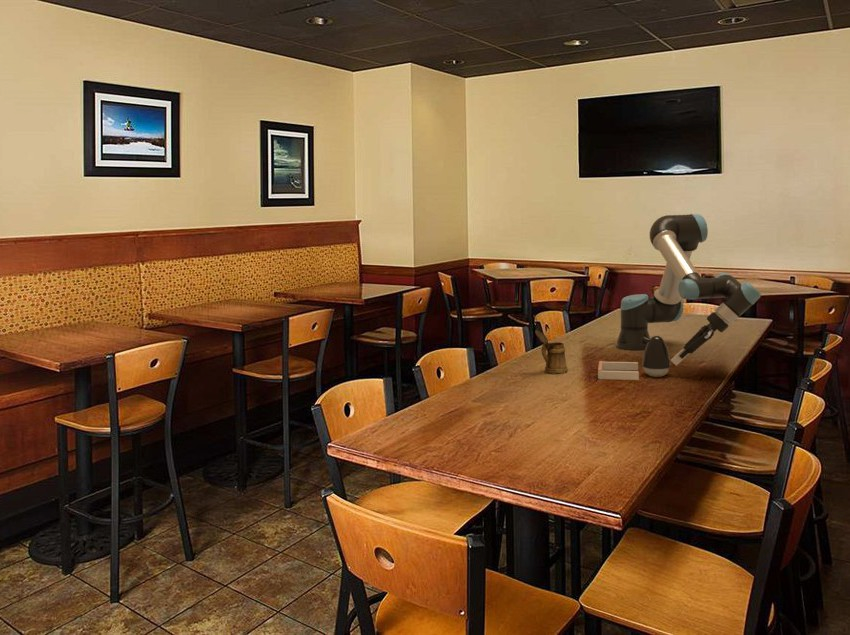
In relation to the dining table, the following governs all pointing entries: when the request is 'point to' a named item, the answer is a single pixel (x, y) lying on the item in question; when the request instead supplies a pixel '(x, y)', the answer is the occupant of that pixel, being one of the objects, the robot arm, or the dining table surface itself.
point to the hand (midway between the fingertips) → (673, 362)
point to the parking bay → (618, 374)
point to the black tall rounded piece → (656, 357)
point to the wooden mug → (553, 355)
